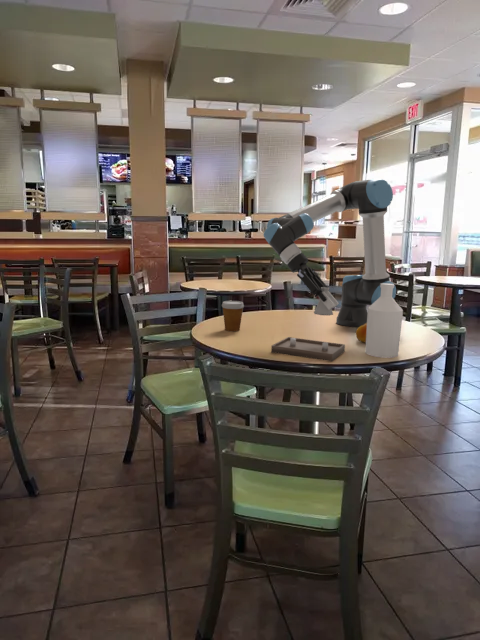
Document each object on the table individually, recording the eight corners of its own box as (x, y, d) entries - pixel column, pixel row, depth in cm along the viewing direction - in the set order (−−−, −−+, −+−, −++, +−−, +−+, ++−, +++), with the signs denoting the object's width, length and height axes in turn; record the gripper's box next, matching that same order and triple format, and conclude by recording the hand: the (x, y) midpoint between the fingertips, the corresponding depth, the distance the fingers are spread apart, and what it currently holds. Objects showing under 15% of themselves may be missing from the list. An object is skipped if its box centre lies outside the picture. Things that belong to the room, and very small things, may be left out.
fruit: (353, 339, 188) (354, 320, 187) (374, 340, 188) (376, 320, 186) (357, 344, 180) (359, 324, 178) (380, 345, 180) (381, 325, 178)
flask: (334, 313, 176) (336, 287, 174) (331, 316, 169) (333, 289, 167) (315, 312, 178) (317, 286, 176) (311, 315, 172) (313, 287, 170)
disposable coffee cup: (241, 333, 195) (241, 304, 193) (218, 331, 197) (219, 303, 195) (245, 328, 204) (246, 301, 202) (224, 327, 206) (224, 300, 204)
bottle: (362, 348, 174) (367, 281, 169) (394, 350, 173) (400, 282, 168) (367, 357, 162) (373, 285, 158) (402, 358, 161) (409, 286, 157)
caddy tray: (287, 343, 179) (288, 333, 179) (344, 351, 170) (345, 340, 169) (271, 352, 165) (271, 341, 165) (332, 361, 156) (332, 349, 155)
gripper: (295, 264, 185) (333, 310, 181) (278, 266, 170) (319, 316, 166) (309, 251, 182) (348, 297, 177) (293, 252, 167) (334, 303, 162)
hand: (333, 306), depth 171 cm, fingers closed on flask, 4 cm apart
